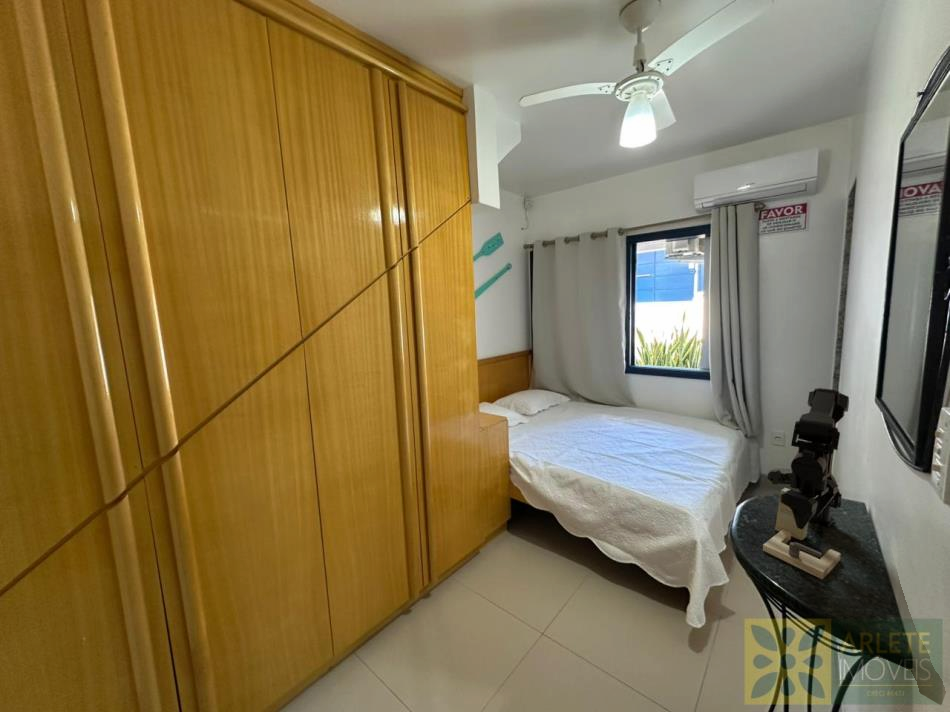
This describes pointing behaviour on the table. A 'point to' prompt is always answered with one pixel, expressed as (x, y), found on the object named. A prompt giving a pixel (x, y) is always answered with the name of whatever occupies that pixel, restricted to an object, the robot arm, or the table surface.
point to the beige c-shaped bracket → (801, 555)
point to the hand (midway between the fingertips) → (807, 522)
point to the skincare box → (788, 521)
